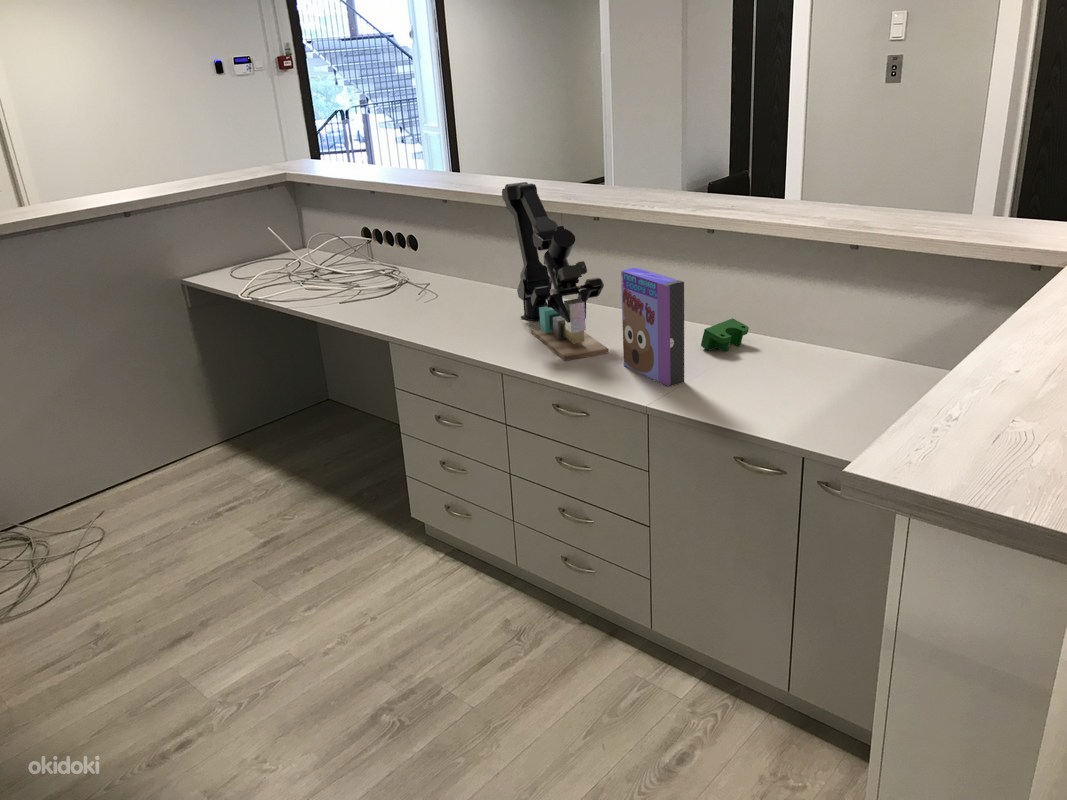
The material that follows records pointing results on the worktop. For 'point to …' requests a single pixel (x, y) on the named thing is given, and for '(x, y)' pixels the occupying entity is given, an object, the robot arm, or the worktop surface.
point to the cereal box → (653, 325)
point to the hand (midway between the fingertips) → (577, 320)
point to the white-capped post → (574, 321)
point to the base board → (570, 345)
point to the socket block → (547, 318)
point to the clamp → (724, 335)
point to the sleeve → (558, 327)
